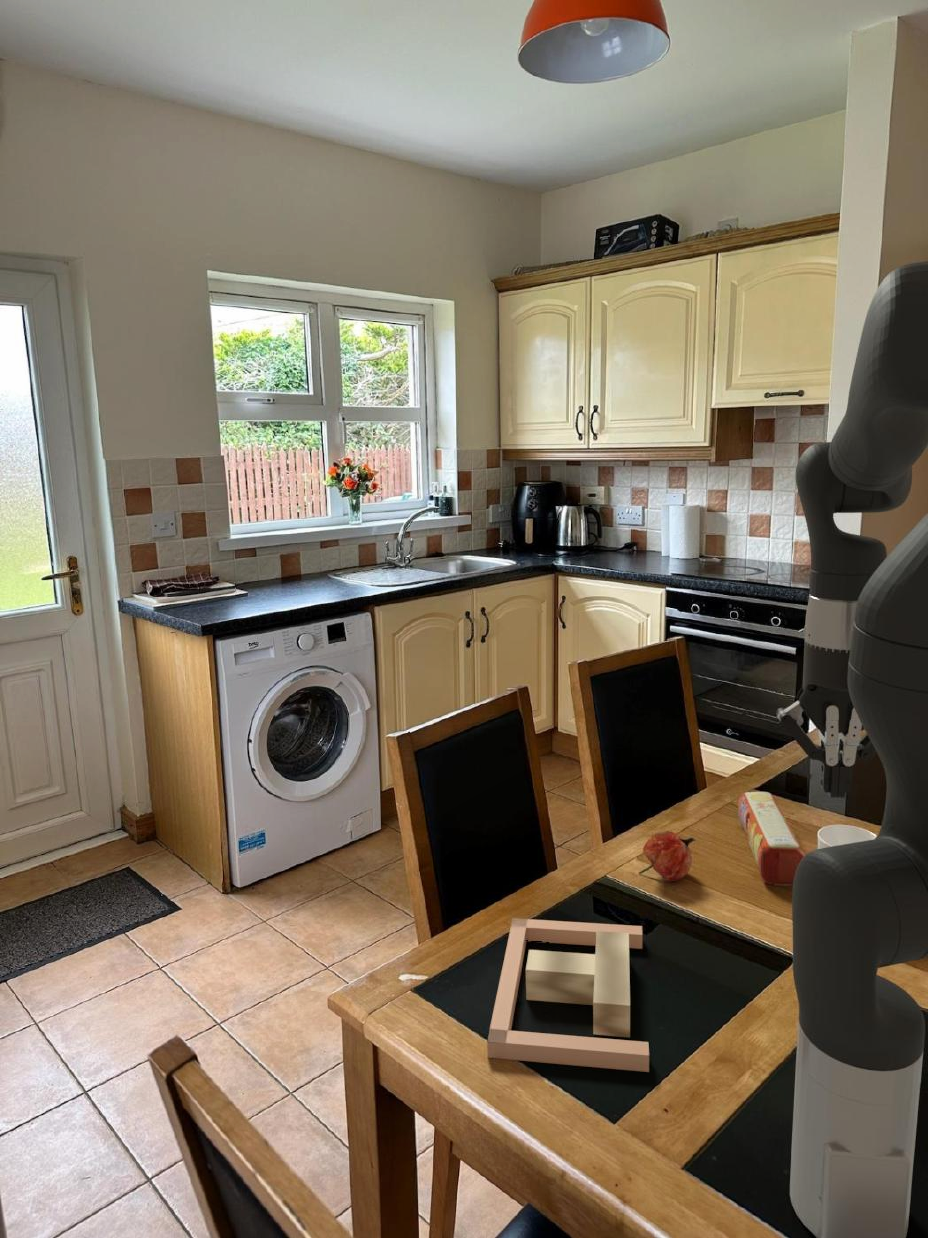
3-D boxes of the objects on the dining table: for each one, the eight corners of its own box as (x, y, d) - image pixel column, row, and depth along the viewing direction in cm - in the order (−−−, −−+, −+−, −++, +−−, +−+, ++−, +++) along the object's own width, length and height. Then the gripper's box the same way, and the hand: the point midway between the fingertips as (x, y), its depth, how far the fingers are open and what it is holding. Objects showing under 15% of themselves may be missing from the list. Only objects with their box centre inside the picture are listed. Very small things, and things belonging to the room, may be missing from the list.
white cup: (882, 921, 115) (887, 853, 112) (820, 917, 116) (824, 849, 114) (867, 891, 122) (872, 826, 120) (809, 887, 124) (812, 823, 122)
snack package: (735, 823, 145) (736, 785, 144) (776, 824, 144) (778, 786, 142) (758, 888, 124) (760, 845, 123) (806, 890, 123) (808, 846, 122)
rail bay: (649, 1072, 89) (649, 1055, 89) (487, 1057, 92) (487, 1041, 92) (641, 940, 112) (641, 926, 112) (513, 931, 115) (512, 918, 115)
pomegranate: (647, 903, 125) (705, 871, 122) (618, 860, 126) (674, 827, 123) (657, 883, 132) (711, 853, 128) (629, 842, 133) (682, 811, 129)
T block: (628, 961, 108) (628, 933, 107) (630, 1037, 95) (630, 1005, 94) (533, 954, 110) (533, 926, 109) (521, 1028, 97) (521, 996, 96)
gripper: (784, 647, 86) (777, 808, 89) (925, 647, 84) (913, 812, 87) (769, 630, 93) (764, 780, 97) (899, 630, 91) (889, 783, 95)
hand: (835, 795), depth 92 cm, fingers closed
